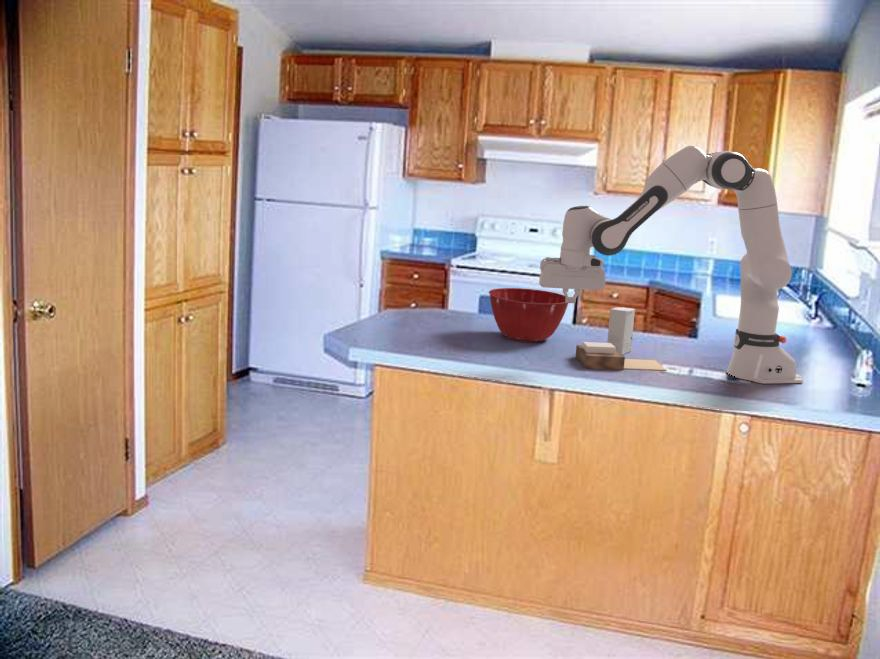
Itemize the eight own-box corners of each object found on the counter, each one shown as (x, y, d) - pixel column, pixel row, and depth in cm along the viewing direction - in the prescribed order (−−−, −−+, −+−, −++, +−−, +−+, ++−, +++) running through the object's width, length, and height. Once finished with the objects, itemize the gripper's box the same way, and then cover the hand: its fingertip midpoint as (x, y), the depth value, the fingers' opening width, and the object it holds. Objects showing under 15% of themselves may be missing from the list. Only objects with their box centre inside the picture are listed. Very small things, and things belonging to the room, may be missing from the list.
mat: (654, 361, 284) (654, 360, 284) (666, 370, 273) (666, 369, 273) (612, 359, 283) (612, 358, 283) (622, 368, 271) (622, 367, 271)
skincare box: (622, 355, 289) (626, 311, 286) (605, 352, 292) (609, 308, 289) (631, 351, 296) (636, 308, 293) (614, 348, 299) (619, 305, 296)
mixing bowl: (564, 332, 319) (568, 291, 316) (568, 350, 291) (572, 305, 288) (487, 326, 322) (490, 285, 318) (483, 343, 294) (486, 298, 291)
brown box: (611, 358, 284) (613, 346, 283) (623, 369, 270) (624, 357, 270) (575, 356, 283) (576, 344, 282) (585, 368, 270) (586, 355, 269)
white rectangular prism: (610, 349, 279) (610, 343, 279) (615, 353, 273) (615, 347, 273) (582, 348, 278) (583, 341, 278) (586, 352, 273) (587, 346, 272)
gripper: (542, 258, 265) (538, 303, 268) (609, 261, 267) (604, 306, 270) (539, 255, 271) (535, 299, 274) (603, 259, 273) (599, 302, 276)
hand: (570, 302), depth 272 cm, fingers closed
